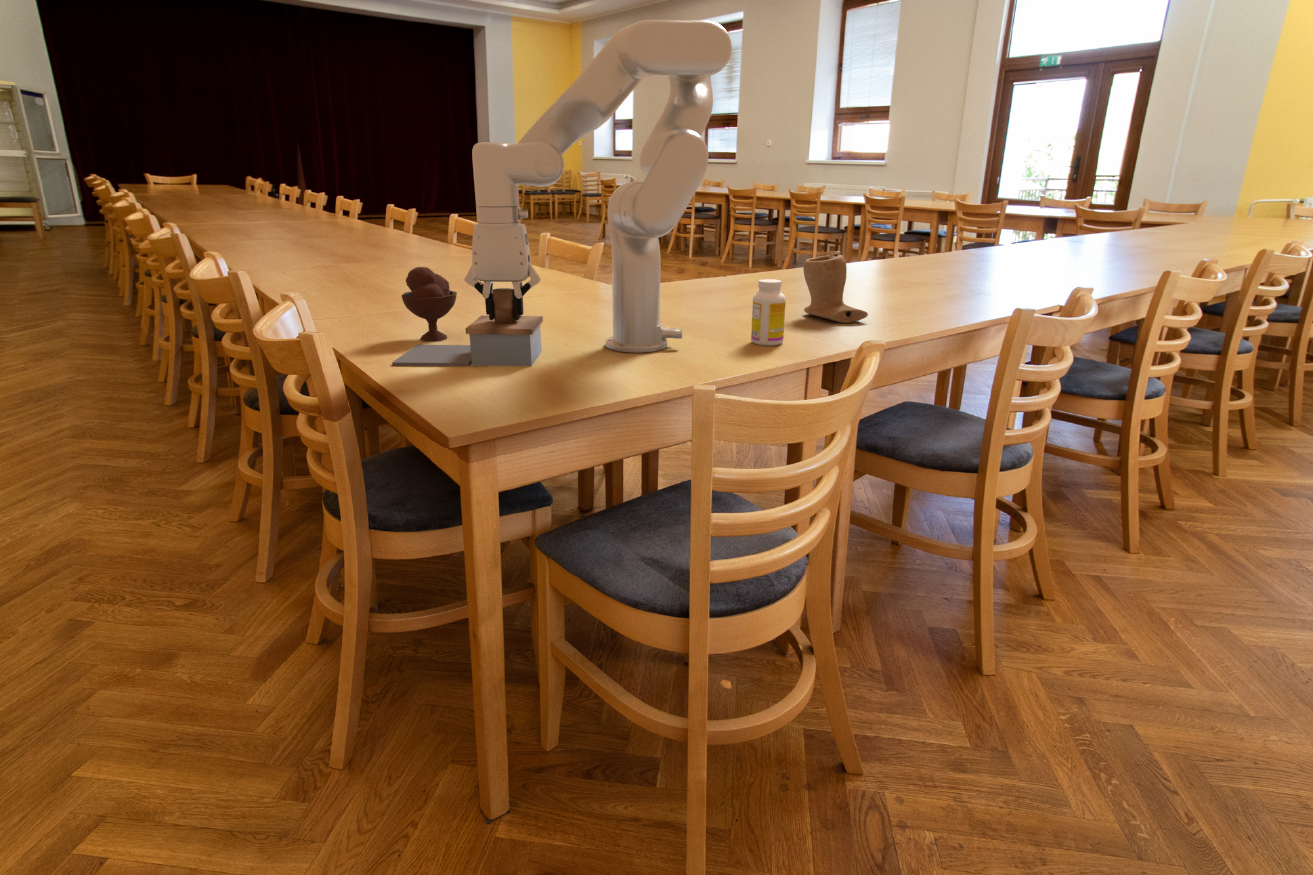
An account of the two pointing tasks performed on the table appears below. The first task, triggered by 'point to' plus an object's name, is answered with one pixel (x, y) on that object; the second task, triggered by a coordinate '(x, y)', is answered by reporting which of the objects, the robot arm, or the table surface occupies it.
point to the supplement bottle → (768, 313)
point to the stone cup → (829, 289)
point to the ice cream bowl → (429, 299)
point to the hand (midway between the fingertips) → (505, 317)
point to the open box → (505, 349)
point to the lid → (504, 317)
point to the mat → (436, 356)
